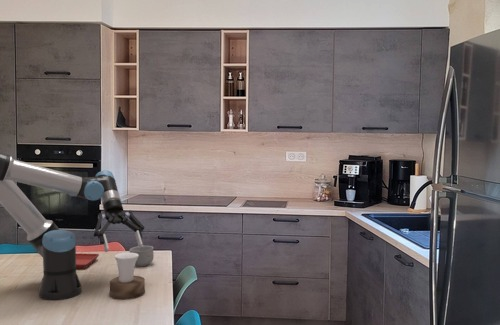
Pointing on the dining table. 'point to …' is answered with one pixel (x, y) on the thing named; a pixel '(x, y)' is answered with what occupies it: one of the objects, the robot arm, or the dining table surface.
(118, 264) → the cup
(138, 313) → the dining table surface
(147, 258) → the teacup
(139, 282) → the walnut stand
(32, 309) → the dining table surface
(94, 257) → the plant saucer
